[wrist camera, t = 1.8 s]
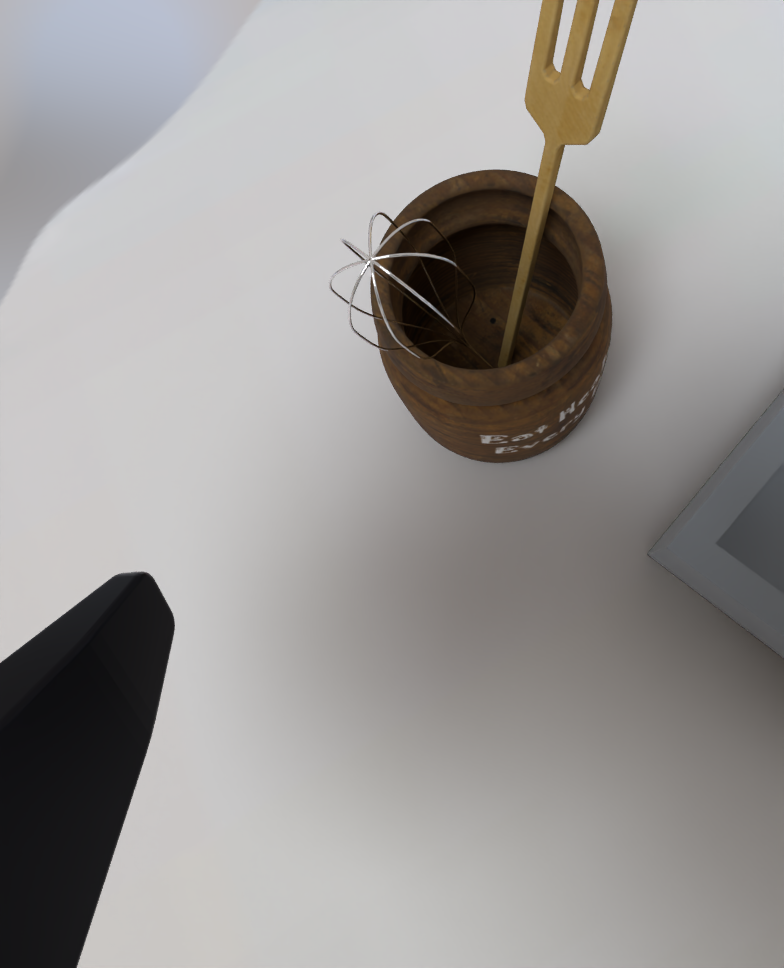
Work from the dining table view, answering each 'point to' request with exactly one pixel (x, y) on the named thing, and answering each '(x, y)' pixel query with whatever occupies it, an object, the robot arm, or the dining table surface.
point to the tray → (738, 533)
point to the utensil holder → (504, 275)
